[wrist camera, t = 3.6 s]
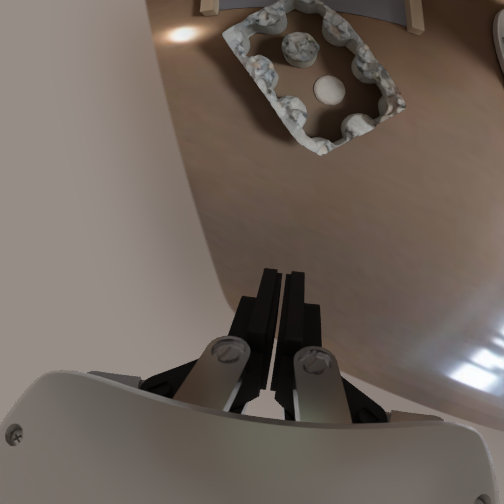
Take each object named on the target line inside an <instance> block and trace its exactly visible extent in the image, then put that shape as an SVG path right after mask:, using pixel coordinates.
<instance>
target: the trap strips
mask: <svg viewBox="0 0 504 504" xmlns="http://www.w3.org/2000/svg"><path fill="white" fill-rule="evenodd" d="M277 1H278V0H219V10H225V9H236V8H254V7H267V6H270V5H272V4H274V3H276V2H277ZM319 1H320V2H322V3H324V4H326V5H327V6H328V7H329V8H331V9H332V10H334V11H337V12H344V13H350V14H356V15H361V16H366V17H371V18H376V19H380V20H384V21H388V22H392V23H396V24H399V25H403V26H406V27H407V22H406V11H405V2H404V0H319Z"/></svg>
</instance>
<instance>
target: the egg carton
mask: <svg viewBox="0 0 504 504" xmlns="http://www.w3.org/2000/svg"><path fill="white" fill-rule="evenodd" d="M294 9H296V10H298V11H300V12H302V13H306V14H314V13H318V14H320V15H321V16H322V17H323V26H322V35H323V37H324V39H325V40H326V41H327V42H329V43H330V44H332V45H334V46H346V47H347V48H348V49H349V50H350V51H351V52H353V53H354V54H355V58H354V59H353V61H352V64H351V69H352V73H353V74H354V76H355V77H356V78H357V79H358V80H360V81H361V82H363V83H368V84H373V83H375V84H376V85H377V86H378V88H379V89H380V91H381V93H382V97H381V98H380V100H379V102H378V109H379V114H380V116H379V117H377V118H376V119H374V120H373V119H372V118H371V117H369V116H367V115H365V114H360V113H357V114H351V115H349V116H347V117H346V118H345V119H344V120H343V122H342V124H341V133H342V136H343V137H342V139H340V140H338V141H336V142H334V143H331V142H330V141H329V140H326V139H324V138H321V137H314V138H310V137H308V136H307V135H306V134H305V132H304V130H303V129H302V127H303V125H304V124H305V122H306V120H307V109H306V107H305V105H304V104H303V103H302V102H301V101H300V100H299V99H298V97H294V96H284V97H282V98H280V99H278V98H277V97H276V93H275V92H274V91H273V89H274V88H275V87H276V85H277V82H278V74H277V72H276V70H275V68H274V66H273V64H272V62H271V61H270V60H269V59H268V58H266V57H264V56H262V55H256V56H253V57H252V56H251V57H248V56H246V54H247V53H248V52H249V49H250V42H249V39H248V38H249V37H250V36H252V35H253V34H255V33H264V34H268V35H277V34H280V33H282V32H283V31H284V30H285V29H286V27H287V25H288V21H287V17H286V13H288V12H290V11H292V10H294ZM222 34H223V37H224V39H225V40H226V42H227V43H228V45H229V47H230V48H231V49H232V51H233V52H234V54H235V55H236V56H237V58H238V59H239V60H240V62H241V63H242V64H243V66H244V67H245V69H246V70H247V71H248V73H249V74H250V75H251V77H252V78H253V79H254V81H255V82H256V84H257V85H258V87H259V88H260V90H261V91H262V92H263V93H264V95H265V96H266V98H267V99H268V101H269V102H270V104H271V105H272V107H273V108H274V109H275V111H276V112H277V114H278V116H279V117H280V119H281V120H282V122H283V123H284V124H285V126H286V127H287V129H288V130H289V131H290V133H291V134H292V135H293V137H294V138H295V139H296V140H297V141H298V142H299V143H300V144H301V145H303V146H304V147H306V148H308V149H310V150H311V151H313V152H315V153H317V154H318V155H320V156H321V155H324V154H326V153H328V152H330V151H331V150H333V149H334V148H336V147H339V146H341V145H343V144H344V143H346V142H348V141H350V140H351V139H352V138H354V137H356V136H360V135H363V134H365V133H367V132H369V131H371V130H372V129H374V128H375V127H376V125H377V124H378V123H380V122H382V121H384V120H386V119H388V118H390V117H392V116H394V115H396V114H397V113H399V112H401V111H403V110H405V108H406V104H405V102H404V100H403V98H402V97H401V93H400V91H399V90H398V88H397V86H396V85H395V84H394V82H393V80H392V78H391V76H390V75H389V74H388V72H387V71H386V70H385V68H384V67H383V66H382V65H381V64H379V63H378V61H377V60H376V58H375V57H374V55H373V54H372V52H371V50H370V49H369V47H368V46H367V45H366V44H365V43H364V42H363V41H362V40H361V38H360V37H359V35H358V34H357V33H356V32H355V31H354V29H353V28H352V27H351V25H350V24H349V23H348V22H347V21H346V20H345V19H344V18H342V17H341V16H340V15H339V14H338V13H336V12H335V11H334V10H332V9H331V8H329V7H328V6H327V5H326V4H324V3H322V2H320V1H319V0H278V1H277V2H276V3H274V4H272V5H270V6H267V7H264V8H263V9H261V10H260V11H258V12H255V13H253V14H251V15H249V16H248V17H247V18H246V19H245V20H244V21H242V22H241V23H238V24H236V25H234V26H232V27H231V28H229V29H228V30H226V31H225V32H223V33H222ZM281 48H282V53H283V55H284V57H285V59H286V61H287V62H288V63H289V64H291V65H292V66H295V67H299V68H306V67H309V66H311V65H312V64H313V63H314V62H315V61H316V58H317V53H318V51H319V49H320V46H319V44H318V43H317V42H316V41H315V40H314V38H313V37H312V36H311V35H310V34H308V33H303V32H294V33H290V34H288V35H285V37H284V39H283V41H282V43H281ZM314 93H315V96H316V97H317V99H318V100H319V101H320V102H322V103H324V104H327V105H336V104H339V103H340V102H341V101H342V100H343V98H344V96H345V87H344V85H343V83H342V82H341V81H340V80H338V78H336V77H333V76H329V75H328V76H322V77H320V78H319V79H318V80H317V81H316V83H315V84H314Z"/></svg>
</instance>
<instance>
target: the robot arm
mask: <svg viewBox="0 0 504 504" xmlns="http://www.w3.org/2000/svg"><path fill="white" fill-rule="evenodd" d="M493 37H494V44H495V48H496V53H497V56H498V59H499V63H500V66H501V69H502V71H503V74H504V9H502V10H500V11H498V13H497V14H496V15H495V18H494V21H493ZM304 279H305V273H304V272H295V271H292V273H291V274H286V280H285V288H284V296H283V304H282V311H281V319H280V326H279V333H278V340H277V347H276V355H275V362H274V369H273V375H272V382H271V388H270V390H271V391H276V392H275V400H276V401H277V402H279V404H280V405H281V406H282V407H283V409H282V420H279V419H271V418H263V417H256V416H248V415H244V413H245V411H246V408H247V405H248V402H249V401H251V400H253V399H254V398H256V397H259V393H260V389H263V390H265V389H266V385H267V380H268V374H269V367H270V362H271V356H272V350H273V344H274V338H275V331H276V324H277V316H278V307H279V298H280V289H281V280H282V273H277V269H268V268H265V269H264V272H263V276H262V280H261V283H260V287H259V291H258V294H257V298H255V297H247V296H242V297H241V300H240V303H239V305H238V308H237V311H236V314H235V317H234V320H233V323H232V325H231V328H230V331H229V334H228V336H222V337H218V338H216V339H214V340H213V341H211V343H209V345H208V346H207V347H206V349H205V351H204V352H203V354H202V355H201V357H200V358H199V359H197V360H194V361H192V362H189V363H187V364H184V365H182V366H179V367H176V368H174V369H171V370H168V371H165V372H163V373H160V374H157V375H154V376H152V377H150V378H148V379H146V380H141V377H136V376H127V375H119V374H111V373H105V372H99V371H91V372H88V373H83V372H78V371H65V370H60V371H51V372H48V373H45V374H43V375H41V376H40V377H39V378H37V380H35V381H34V382H33V383H32V384H31V385H30V386H29V387H28V388H27V389H26V390H25V392H24V393H23V394H22V395H21V397H20V398H19V399H18V400H17V402H16V403H15V404H14V406H13V407H12V408H11V410H10V411H9V412H8V414H7V415H6V417H5V418H4V420H3V421H2V423H1V425H0V504H499V492H498V485H497V480H496V475H495V469H494V465H493V461H492V458H491V455H490V452H489V449H488V446H487V444H486V442H485V440H484V438H483V437H482V435H481V434H480V433H479V432H478V431H477V430H475V429H474V428H472V427H470V426H467V425H464V424H460V423H456V422H449V421H444V420H443V419H441V418H440V417H437V416H432V415H424V414H415V413H408V412H401V411H394V410H391V412H390V413H389V412H385V411H384V409H383V408H382V407H381V406H379V405H378V404H377V403H375V402H374V401H373V400H371V399H370V398H369V397H368V396H366V395H365V394H364V393H362V392H361V391H360V390H358V389H357V388H356V387H355V386H353V385H352V384H351V383H349V382H348V381H347V380H346V379H344V378H343V377H342V376H341V375H340V371H339V367H338V363H337V360H336V358H335V356H334V355H333V354H332V353H331V352H330V351H328V350H327V349H325V348H322V341H321V317H320V305H317V304H307V303H304Z"/></svg>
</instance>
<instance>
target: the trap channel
mask: <svg viewBox="0 0 504 504" xmlns="http://www.w3.org/2000/svg"><path fill="white" fill-rule="evenodd" d="M404 2H405V11H406V22H407V32H410V33H413V34H416V35H420V34H422V33H423V32H425V29H424V19H423V10H422V3H421V0H404ZM218 11H219V0H201V6H200V12H201V13H202V14H203V15H204V16H213V15H218Z"/></svg>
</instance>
